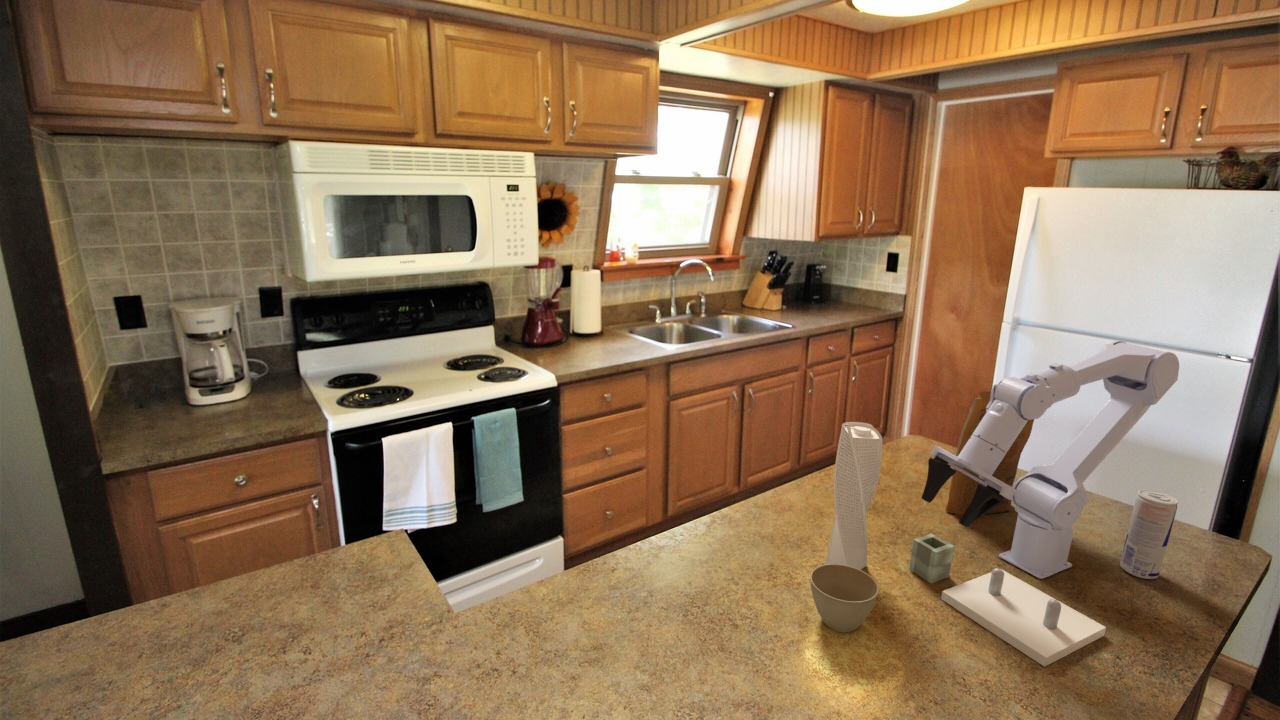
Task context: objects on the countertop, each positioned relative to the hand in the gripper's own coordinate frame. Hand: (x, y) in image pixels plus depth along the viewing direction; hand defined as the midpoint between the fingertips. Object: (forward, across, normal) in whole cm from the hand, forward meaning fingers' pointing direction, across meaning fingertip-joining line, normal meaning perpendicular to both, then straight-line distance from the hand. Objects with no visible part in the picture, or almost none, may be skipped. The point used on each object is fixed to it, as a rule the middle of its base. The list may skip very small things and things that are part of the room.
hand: (943, 512), depth 106 cm
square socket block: (+11, 0, +8) cm, 13 cm away
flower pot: (+23, +3, -13) cm, 26 cm away
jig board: (+8, +14, +10) cm, 19 cm away
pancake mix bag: (-3, -12, +34) cm, 36 cm away
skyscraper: (+18, -8, -3) cm, 20 cm away
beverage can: (-8, +15, +38) cm, 41 cm away
